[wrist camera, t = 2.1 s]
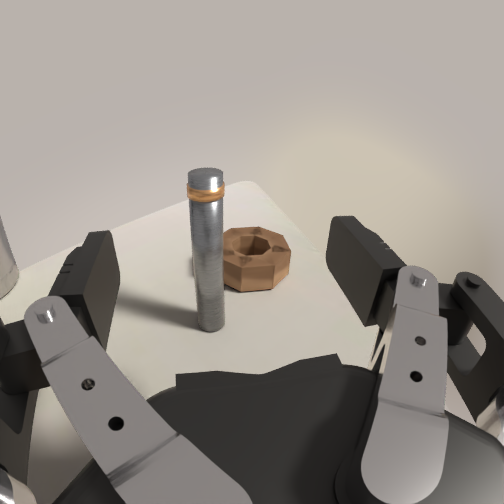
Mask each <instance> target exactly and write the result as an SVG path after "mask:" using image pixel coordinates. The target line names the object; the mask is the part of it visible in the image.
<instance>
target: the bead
mask: <svg viewBox="0 0 504 504" xmlns="http://www.w3.org/2000/svg"><path fill="white" fill-rule="evenodd" d="M290 256H291V250H290V248H289V246H288V244H287V242H286V240H285V238H284V237H283V235H280V234H278V233H275V232H272V231H269V230H266V229H264V228H261V227H245V228H231V229H229V230H227V231H226V232H224V233H223V260H224V284H226V285H228V286H230V287H232V288H235V289H237V290H239V291H241V292H242V291H254V290H265V289H273V288H274V287H275V286H276V285H277V284H278V283H279V282H280V281H281V280H282V279H283V278H284V277H285V276H286V275H287V274H288V272H289V264H290Z"/></svg>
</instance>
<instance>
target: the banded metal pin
mask: <svg viewBox="0 0 504 504" xmlns="http://www.w3.org/2000/svg"><path fill="white" fill-rule="evenodd" d="M187 196H188V198H189V208H190V225H191V240H192V254H193V267H194V279H195V290H196V301H197V311H198V321H199V326H200V327H201V328H202V329H203V330H205V331H209V332H213V331H218V330H220V329H221V328H222V327H223V326H224V324H225V309H224V260H223V196H224V182H223V172H222V171H221V170H219V169H216V168H199V169H194V170H191V171H190V172H189V173H188V183H187Z"/></svg>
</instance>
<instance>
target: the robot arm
mask: <svg viewBox="0 0 504 504" xmlns="http://www.w3.org/2000/svg"><path fill="white" fill-rule="evenodd" d="M326 263H327V266H328V269H329V270H330V272H331V273H332V275H333V277H334V278H335V280H336V281H337V283H338V284H339V286H340V288H341V289H342V291H343V292H344V294H345V296H346V297H347V299H348V300H349V302H350V304H351V305H352V307H353V308H354V310H355V312H356V313H357V315H358V317H359V318H360V320H361V322H362V323H363V325H364V327H366V326H371V325H376V324H378V326H379V329H378V332H377V334H376V338H375V342H374V346H373V349H372V353H371V357H370V360H369V364H368V367H367V369H366V368H363V367H359V366H353V365H344V364H341V361H340V359H339V357H338V355H337V353H336V354H331V355H325V356H320V357H315V358H309V359H303V360H299V361H296V362H294V363H291V364H289V365H286V366H284V367H281V368H279V369H276V370H273V371H271V372H268V373H265V374H245V373H234V372H223V371H210V372H198V373H185V374H176V386H175V387H172V388H168V389H166V390H164V391H161V392H159V393H157V394H155V395H153V396H152V397H150V398H149V399H147V400H145V399H144V398H143V397H142V396H141V394H140V393H139V392H138V391H137V390H136V389H135V388H134V386H133V385H132V384H131V383H130V382H129V380H128V379H127V378H126V377H125V376H124V374H123V373H122V372H121V371H120V370H119V368H118V367H117V366H116V365H115V363H114V362H113V361H112V360H111V358H110V357H109V356H108V354H107V353H106V348H107V342H108V337H109V332H110V327H111V322H112V317H113V312H114V308H115V303H116V299H117V294H118V290H119V286H120V271H119V266H118V261H117V257H116V252H115V248H114V243H113V238H112V234H111V232H110V231H109V230H107V231H97V232H89V234H88V236H87V237H86V239H85V241H84V243H83V245H82V247H77V248H75V249H74V250H73V251H72V252H71V253H70V254H69V255H68V256H67V258H66V260H65V262H64V264H63V266H62V268H61V270H60V272H59V273H60V274H58V276H57V278H56V280H55V282H54V284H53V286H52V288H51V290H50V293H49V295H48V296H47V297H43V298H41V299H39V300H37V301H35V302H34V303H33V304H31V305H30V306H29V308H28V309H27V310H26V312H25V315H24V320H20V321H17V322H14V323H10V324H7V325H4V323H3V322H2V320H1V318H0V504H37V503H36V500H35V497H34V495H33V493H32V491H31V490H30V489H29V488H28V487H27V471H28V459H29V449H30V440H31V433H32V425H33V419H34V413H35V407H36V401H37V396H38V391H39V389H41V388H45V387H49V386H51V387H52V389H53V391H54V393H55V395H56V397H57V399H58V401H59V402H60V404H61V406H62V408H63V410H64V411H65V413H66V415H67V417H68V418H69V420H70V422H71V423H72V425H73V427H74V428H75V430H76V432H77V433H78V435H79V436H80V438H81V439H82V441H83V443H84V444H85V446H86V447H87V449H88V450H89V452H90V453H91V455H92V456H93V459H92V460H91V461H90V462H89V463H88V464H87V465H86V466H85V468H84V469H83V470H82V471H81V472H80V473H79V474H78V475H77V477H76V478H75V479H74V480H73V481H72V482H71V483H70V484H69V485H68V487H67V488H66V489H65V490H64V491H63V492H62V493H61V494H60V495H59V497H58V498H57V499H56V500H55V501H54V502H53V503H52V504H504V302H503V301H502V300H501V299H500V297H499V296H498V295H497V294H496V293H495V292H494V291H493V290H492V289H491V287H490V286H489V285H488V284H487V283H486V282H485V281H484V280H483V279H482V278H480V277H478V276H477V275H475V274H472V273H469V272H460V273H458V274H457V275H456V278H455V280H454V283H453V284H443V283H438V281H437V279H436V278H435V276H434V275H433V274H432V273H430V272H429V271H427V270H426V269H423V268H421V267H417V266H407V265H406V264H405V263H404V262H403V261H402V260H401V259H400V258H399V257H398V256H397V255H396V253H395V252H394V251H393V250H392V249H390V247H389V246H388V245H387V244H386V243H384V241H383V240H382V239H381V238H380V237H379V236H378V235H377V234H376V233H374V232H372V231H371V230H369V229H367V228H365V227H364V226H363V225H362V224H361V223H360V222H359V221H358V220H357V219H356V218H355V217H354V216H335V217H333V219H332V221H331V226H330V232H329V238H328V244H327V251H326ZM18 277H19V270H18V268H17V265H16V262H15V259H14V257H13V254H12V251H11V248H10V245H9V242H8V239H7V236H6V233H5V230H4V227H3V223H2V220H1V217H0V298H2V297H3V296H4V295H6V294H7V293H8V292H9V291H10V290H11V289H12V288H13V286H14V285H15V284H16V282H17V280H18ZM473 323H474V324H475V325H476V327H477V328H478V329H479V331H480V332H481V333H482V335H483V336H484V338H485V340H486V349H485V352H484V353H483V355H482V356H480V355H479V353H478V352H477V350H476V349H475V347H474V346H473V345H472V343H471V342H470V340H469V339H468V337H467V334H468V332H469V331H470V329H471V327H472V325H473ZM447 373H448V374H449V376H450V378H451V379H452V381H453V383H454V385H455V386H456V388H457V390H458V392H459V393H460V395H461V397H462V399H463V400H464V402H465V404H466V406H467V408H468V409H469V411H470V413H471V415H472V417H473V419H474V421H475V422H476V426H474V425H473V424H471V423H469V422H467V421H465V420H463V419H461V418H459V417H457V416H455V415H453V414H452V413H450V412H448V411H446V410H444V405H445V393H446V378H447V377H446V376H447Z"/></svg>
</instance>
